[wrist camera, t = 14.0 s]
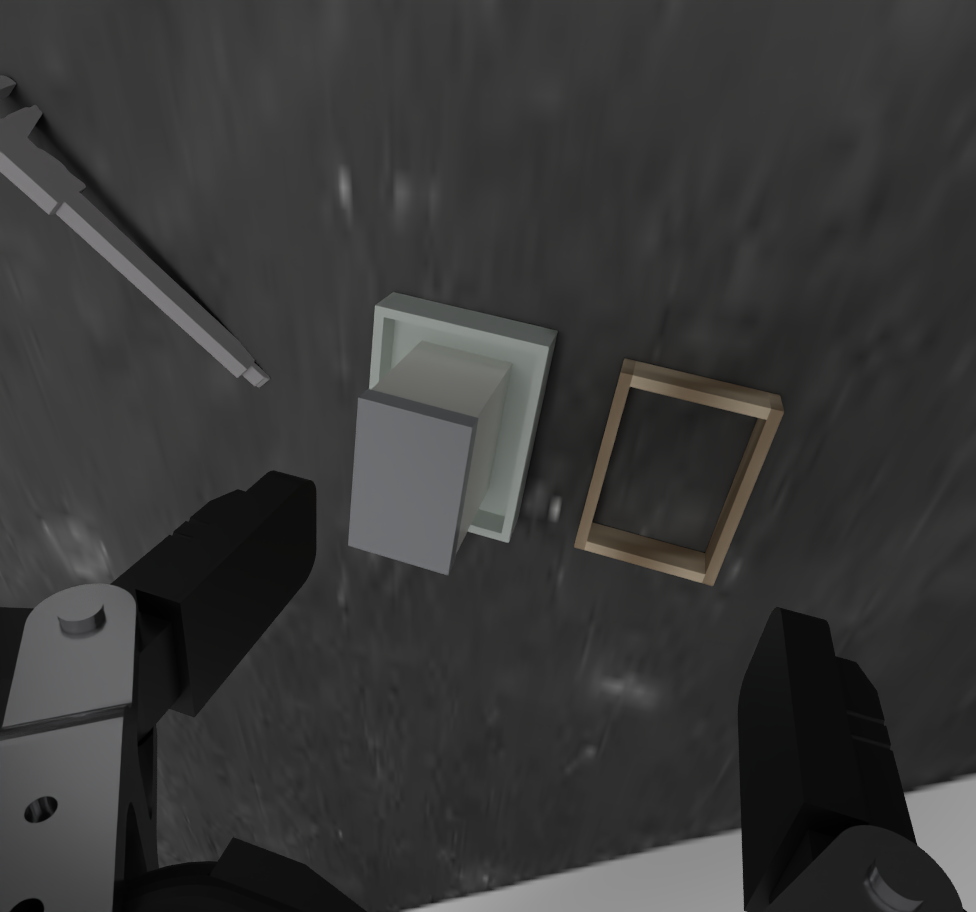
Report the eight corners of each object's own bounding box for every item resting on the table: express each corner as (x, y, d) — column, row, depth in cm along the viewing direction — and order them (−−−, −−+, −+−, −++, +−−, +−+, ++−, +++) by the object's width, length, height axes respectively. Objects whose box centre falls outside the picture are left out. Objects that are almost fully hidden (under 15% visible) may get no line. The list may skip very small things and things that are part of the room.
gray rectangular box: (514, 361, 37) (472, 427, 30) (489, 491, 41) (448, 575, 34) (420, 338, 38) (358, 397, 31) (405, 467, 42) (348, 545, 35)
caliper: (5, 88, 38) (-108, 92, 33) (14, 74, 38) (-99, 75, 32) (263, 385, 43) (201, 430, 38) (274, 376, 43) (213, 420, 37)
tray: (558, 330, 36) (549, 347, 34) (518, 519, 42) (508, 542, 40) (393, 292, 38) (375, 305, 36) (377, 480, 44) (361, 501, 42)
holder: (780, 395, 35) (784, 412, 33) (712, 564, 40) (712, 586, 39) (624, 358, 36) (620, 372, 34) (578, 527, 42) (573, 547, 40)
